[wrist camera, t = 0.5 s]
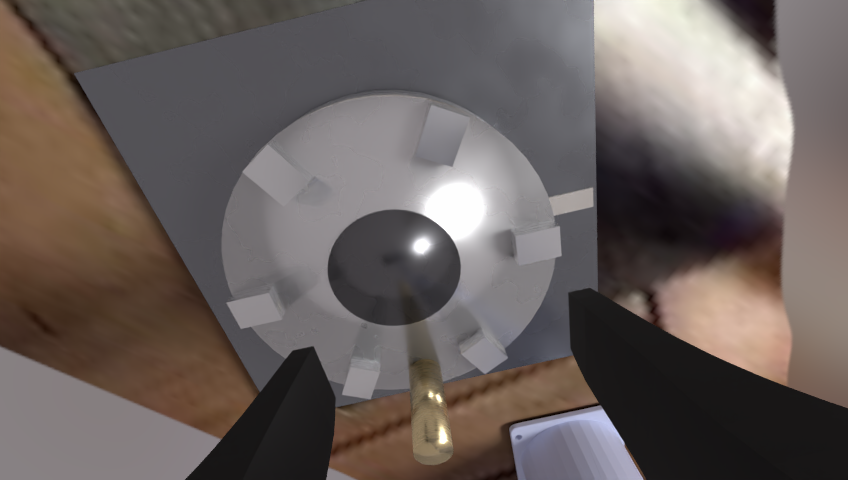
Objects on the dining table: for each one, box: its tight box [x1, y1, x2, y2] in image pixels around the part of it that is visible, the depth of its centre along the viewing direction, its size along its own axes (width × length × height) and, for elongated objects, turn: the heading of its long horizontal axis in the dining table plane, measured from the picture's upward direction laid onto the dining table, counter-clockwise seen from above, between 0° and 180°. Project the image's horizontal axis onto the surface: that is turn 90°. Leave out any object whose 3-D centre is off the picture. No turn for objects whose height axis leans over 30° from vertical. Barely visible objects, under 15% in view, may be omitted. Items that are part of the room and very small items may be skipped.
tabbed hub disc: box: [221, 90, 562, 465], centre depth 16 cm, size 14×14×7 cm
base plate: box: [74, 0, 598, 407], centre depth 19 cm, size 20×20×1 cm
